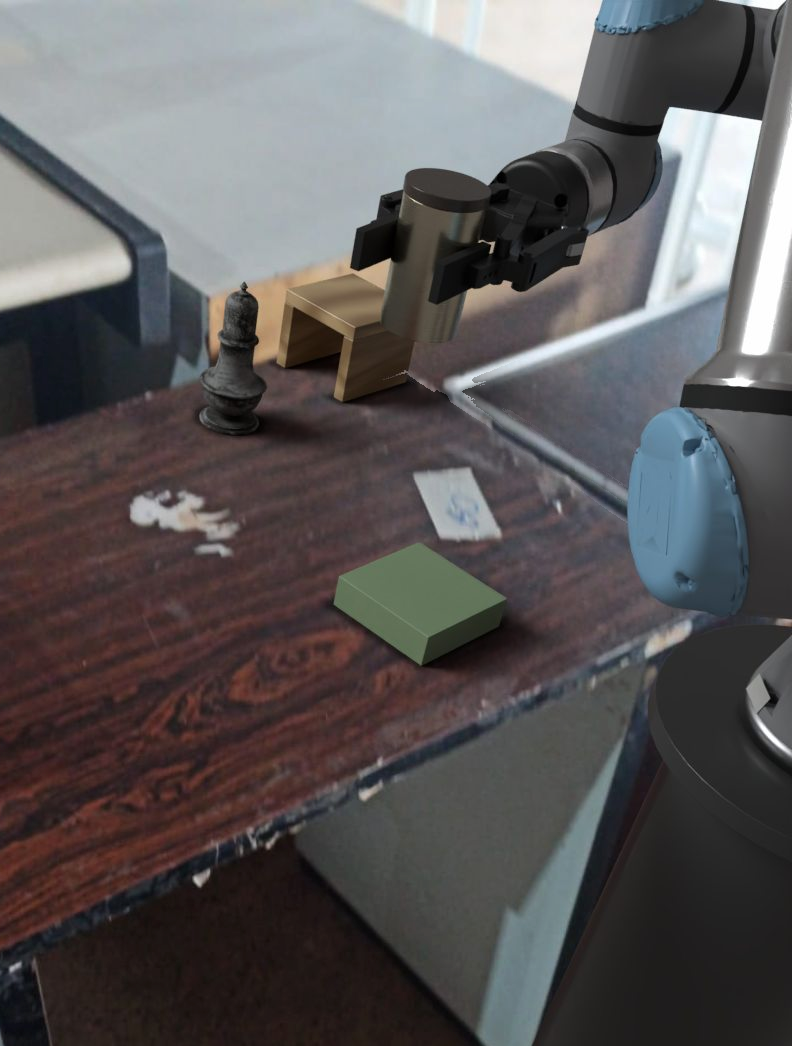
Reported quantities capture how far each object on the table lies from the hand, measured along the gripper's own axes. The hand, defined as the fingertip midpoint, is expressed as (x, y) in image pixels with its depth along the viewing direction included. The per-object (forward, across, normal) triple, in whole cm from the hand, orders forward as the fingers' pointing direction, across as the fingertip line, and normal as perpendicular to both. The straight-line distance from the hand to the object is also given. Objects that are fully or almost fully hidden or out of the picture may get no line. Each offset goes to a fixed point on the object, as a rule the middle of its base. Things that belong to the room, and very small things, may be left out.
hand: (396, 266), depth 90 cm
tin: (-5, 0, -6) cm, 8 cm away
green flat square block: (+7, -11, -20) cm, 24 cm away
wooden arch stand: (-23, +16, -20) cm, 34 cm away
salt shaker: (-6, +17, -20) cm, 27 cm away
